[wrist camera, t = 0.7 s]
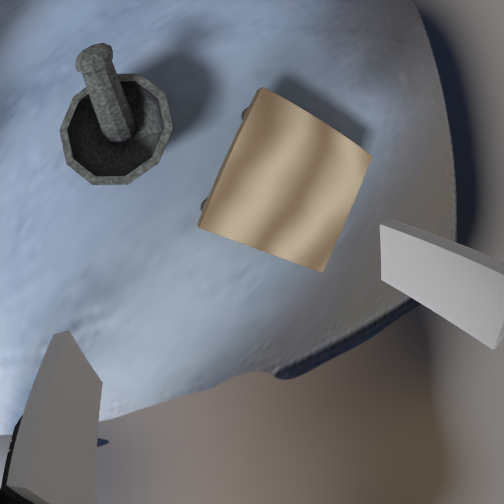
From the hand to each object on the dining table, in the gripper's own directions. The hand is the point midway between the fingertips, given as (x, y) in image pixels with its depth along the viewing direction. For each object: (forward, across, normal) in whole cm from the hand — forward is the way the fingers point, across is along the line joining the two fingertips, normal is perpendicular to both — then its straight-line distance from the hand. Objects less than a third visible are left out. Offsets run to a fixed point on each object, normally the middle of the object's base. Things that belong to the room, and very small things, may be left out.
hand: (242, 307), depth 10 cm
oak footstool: (+22, +10, 0) cm, 24 cm away
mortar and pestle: (+22, -4, +10) cm, 25 cm away
